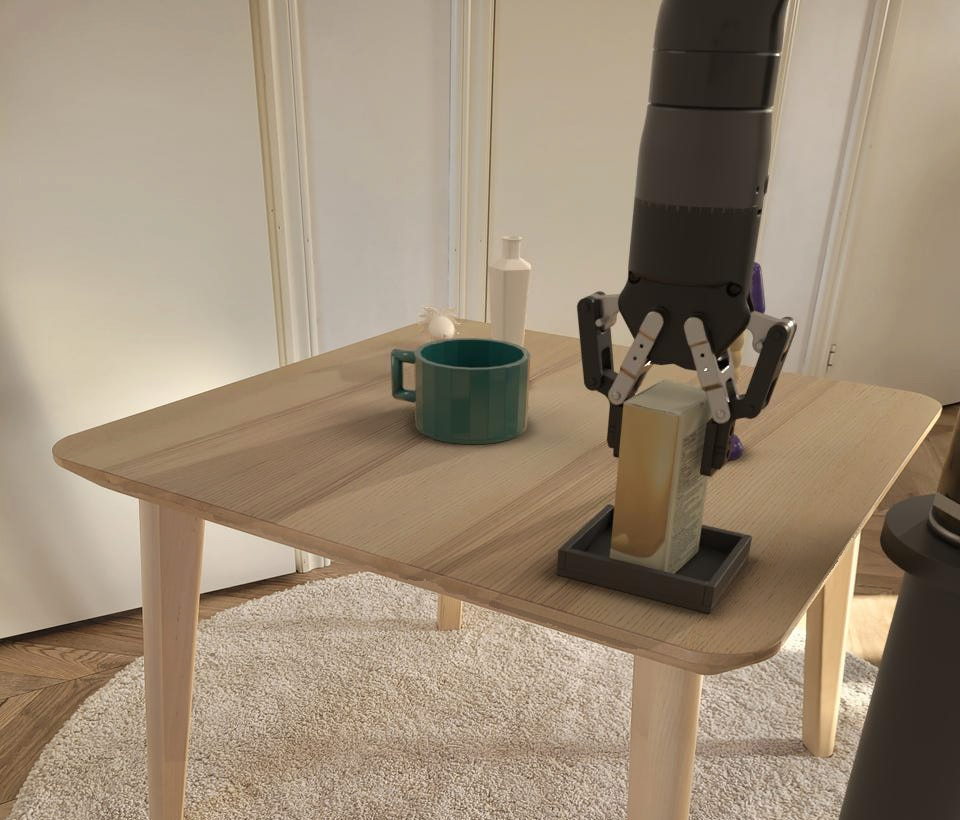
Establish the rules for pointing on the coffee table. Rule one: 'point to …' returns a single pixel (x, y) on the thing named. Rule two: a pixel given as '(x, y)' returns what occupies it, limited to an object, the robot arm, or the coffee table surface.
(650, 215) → the robot arm
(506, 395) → the teal coffee mug
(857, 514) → the coffee table surface
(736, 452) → the toy lamp
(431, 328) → the cream spiky figurine
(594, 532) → the tray
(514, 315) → the white bottle vase
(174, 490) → the coffee table surface
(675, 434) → the cosmetic box
